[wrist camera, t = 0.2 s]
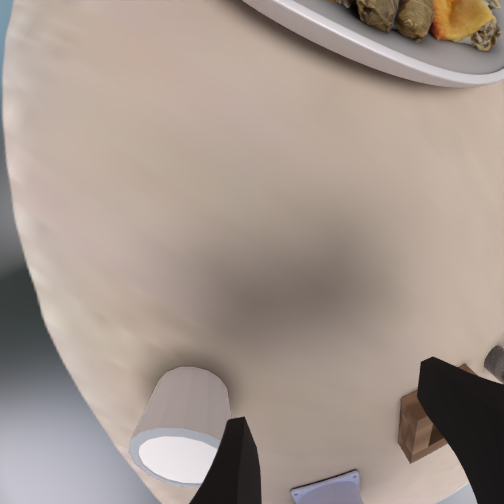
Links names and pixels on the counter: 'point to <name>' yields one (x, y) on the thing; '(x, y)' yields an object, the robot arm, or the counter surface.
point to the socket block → (419, 428)
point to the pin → (496, 363)
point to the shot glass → (181, 427)
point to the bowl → (404, 35)
